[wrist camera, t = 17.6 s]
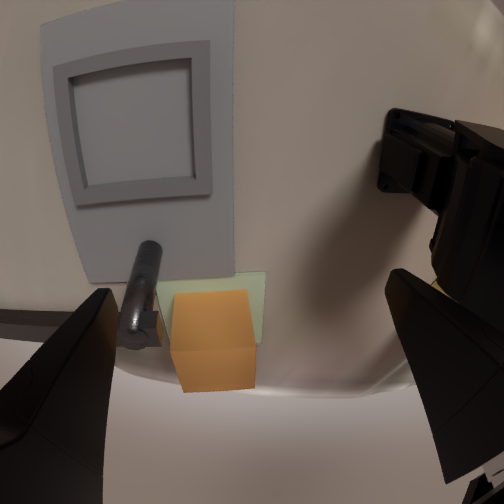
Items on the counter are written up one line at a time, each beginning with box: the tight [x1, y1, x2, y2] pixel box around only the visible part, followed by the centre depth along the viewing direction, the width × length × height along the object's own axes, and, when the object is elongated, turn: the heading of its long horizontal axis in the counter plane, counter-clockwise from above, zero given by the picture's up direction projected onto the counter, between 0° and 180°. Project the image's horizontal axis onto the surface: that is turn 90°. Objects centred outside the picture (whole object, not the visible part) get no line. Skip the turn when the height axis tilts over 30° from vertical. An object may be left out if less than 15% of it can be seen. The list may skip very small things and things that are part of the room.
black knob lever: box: [0, 240, 163, 350], centre depth 17 cm, size 19×2×8 cm, turn 89°
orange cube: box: [170, 289, 256, 393], centre depth 24 cm, size 6×6×6 cm
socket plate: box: [41, 0, 235, 283], centre depth 17 cm, size 12×20×2 cm, turn 179°
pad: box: [156, 271, 266, 344], centre depth 27 cm, size 9×9×1 cm
